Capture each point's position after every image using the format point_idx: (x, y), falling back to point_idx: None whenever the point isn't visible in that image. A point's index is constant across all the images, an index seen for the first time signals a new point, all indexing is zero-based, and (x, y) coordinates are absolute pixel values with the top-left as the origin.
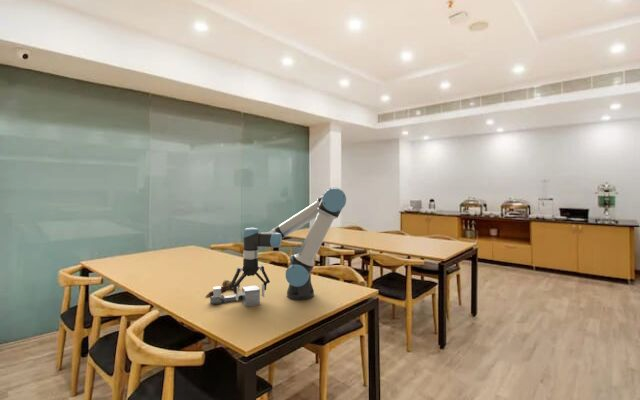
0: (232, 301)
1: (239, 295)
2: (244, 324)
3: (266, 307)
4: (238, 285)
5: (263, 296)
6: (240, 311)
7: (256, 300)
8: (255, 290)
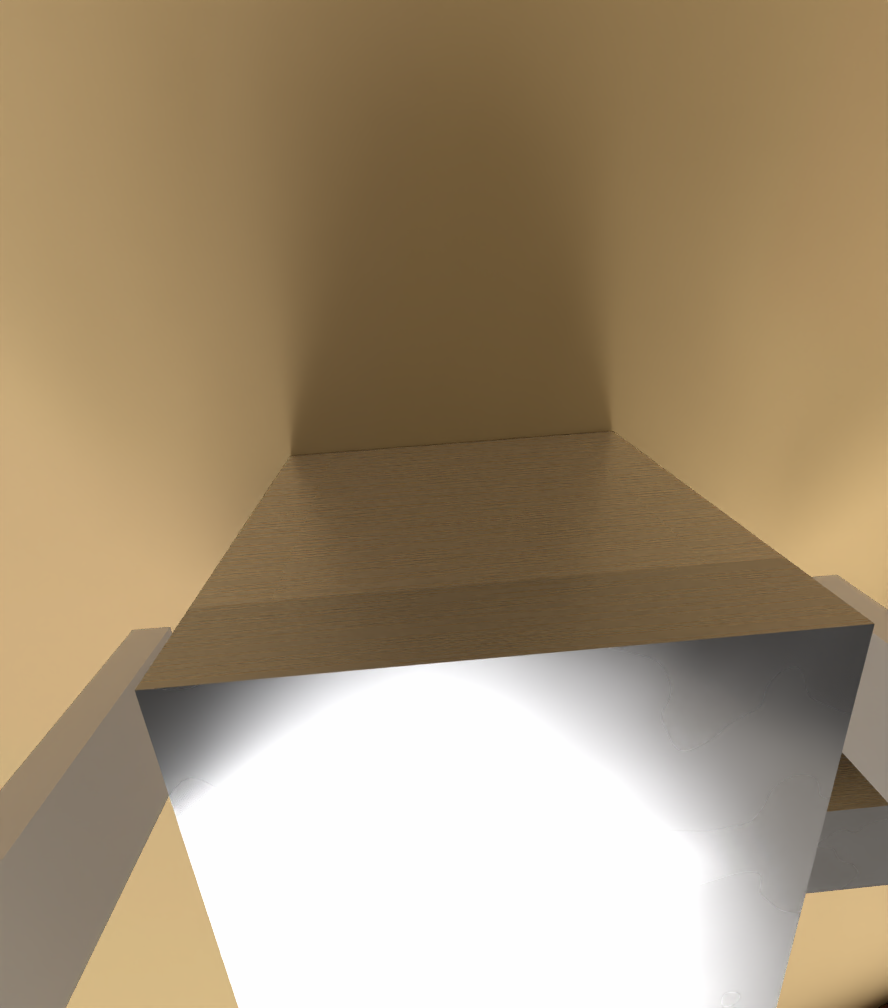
0: None
1: None
2: None
3: (137, 212)
4: None
5: (148, 639)
6: (785, 175)
7: (357, 485)
8: (364, 648)
